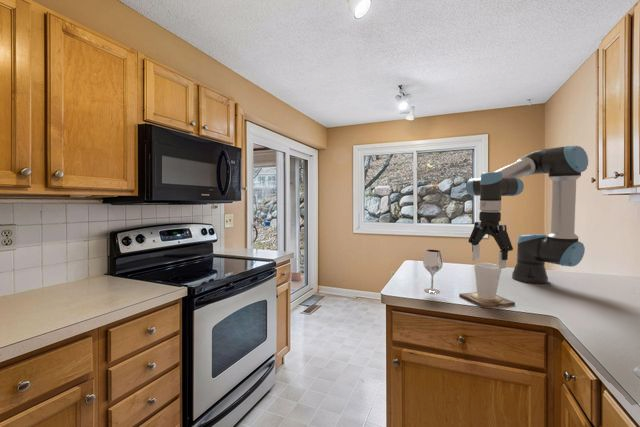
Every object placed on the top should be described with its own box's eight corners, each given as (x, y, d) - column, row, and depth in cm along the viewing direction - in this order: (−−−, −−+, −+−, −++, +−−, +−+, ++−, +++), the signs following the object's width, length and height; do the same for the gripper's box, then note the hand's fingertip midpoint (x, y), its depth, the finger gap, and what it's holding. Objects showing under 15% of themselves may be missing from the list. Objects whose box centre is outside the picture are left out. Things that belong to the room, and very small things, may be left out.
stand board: (486, 294, 135) (487, 290, 135) (514, 305, 122) (514, 301, 122) (459, 296, 132) (459, 292, 132) (484, 308, 118) (485, 304, 118)
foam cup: (503, 302, 121) (504, 268, 120) (477, 300, 123) (478, 267, 122) (494, 294, 131) (496, 263, 130) (470, 292, 132) (472, 262, 131)
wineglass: (421, 292, 136) (423, 251, 135) (422, 287, 144) (423, 248, 143) (442, 295, 134) (443, 253, 132) (441, 289, 141) (443, 249, 140)
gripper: (460, 209, 136) (459, 258, 137) (508, 213, 111) (506, 272, 113) (474, 209, 137) (473, 257, 139) (525, 213, 113) (523, 271, 115)
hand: (488, 264), depth 126 cm, fingers open, 13 cm apart
